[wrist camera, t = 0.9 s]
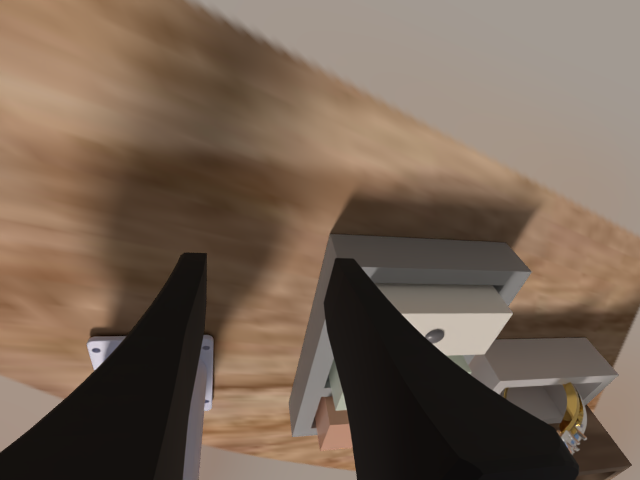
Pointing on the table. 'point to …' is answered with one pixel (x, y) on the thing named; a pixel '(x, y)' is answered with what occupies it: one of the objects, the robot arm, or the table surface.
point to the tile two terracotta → (332, 426)
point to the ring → (570, 418)
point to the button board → (394, 267)
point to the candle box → (597, 452)
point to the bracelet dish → (543, 373)
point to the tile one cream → (451, 314)
